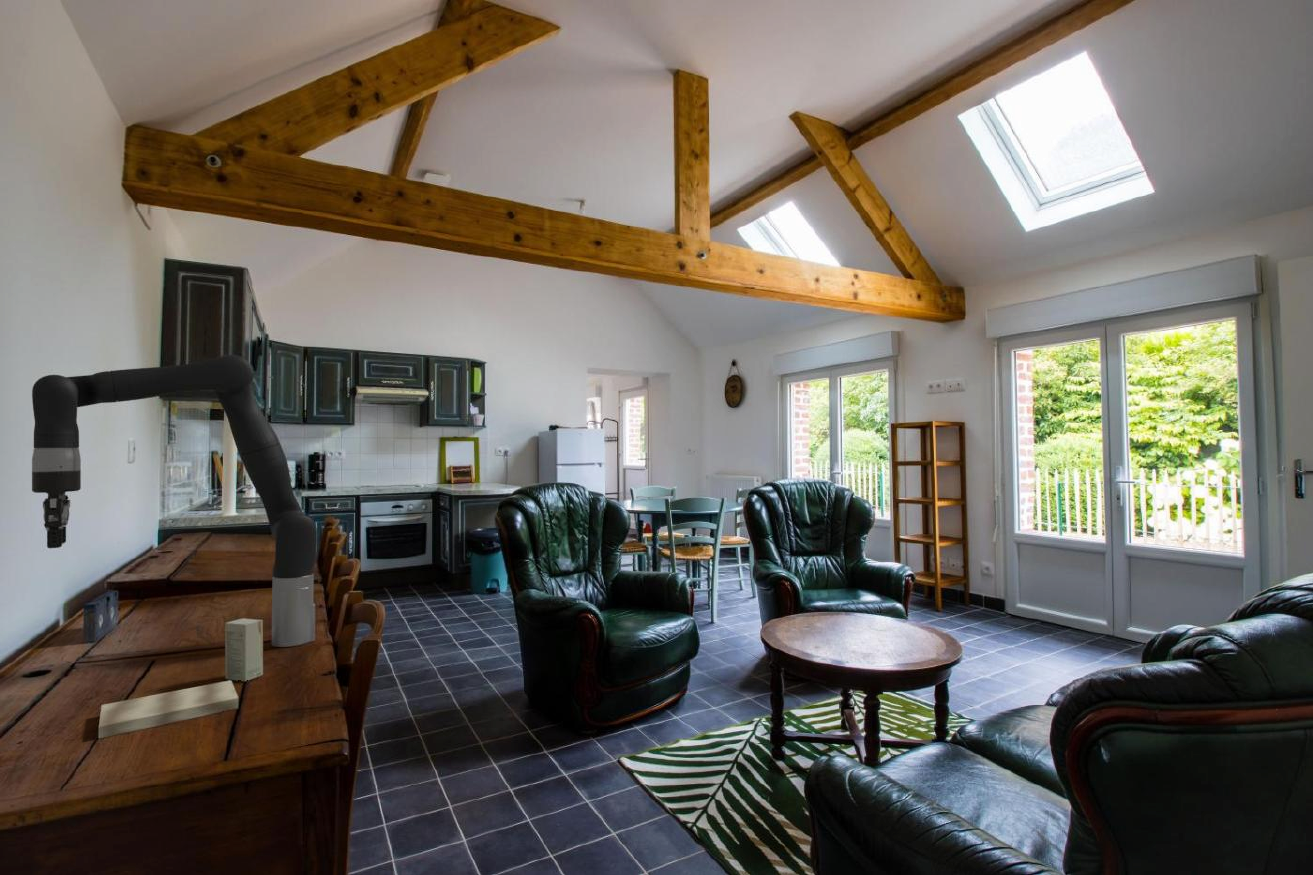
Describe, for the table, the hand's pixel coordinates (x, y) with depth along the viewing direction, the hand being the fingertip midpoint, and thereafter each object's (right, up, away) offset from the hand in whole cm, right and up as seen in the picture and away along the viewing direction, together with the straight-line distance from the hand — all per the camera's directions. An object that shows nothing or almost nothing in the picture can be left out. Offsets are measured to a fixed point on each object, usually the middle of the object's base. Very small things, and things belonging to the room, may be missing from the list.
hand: (56, 545), depth 133 cm
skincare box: (+38, -30, +3) cm, 48 cm away
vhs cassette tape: (-22, -30, +35) cm, 51 cm away
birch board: (+36, -29, -15) cm, 49 cm away
